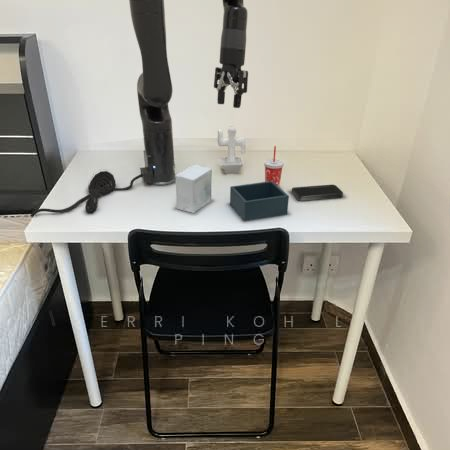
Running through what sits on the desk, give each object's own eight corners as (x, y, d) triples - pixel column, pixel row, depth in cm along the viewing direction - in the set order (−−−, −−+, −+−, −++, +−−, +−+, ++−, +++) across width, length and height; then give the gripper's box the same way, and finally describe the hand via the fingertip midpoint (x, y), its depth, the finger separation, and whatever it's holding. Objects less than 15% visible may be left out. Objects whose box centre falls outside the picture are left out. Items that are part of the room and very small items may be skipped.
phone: (344, 194, 143) (298, 197, 141) (343, 197, 144) (298, 200, 141) (334, 184, 149) (290, 187, 147) (334, 187, 150) (290, 190, 148)
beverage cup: (260, 186, 151) (263, 143, 142) (279, 185, 151) (282, 142, 143) (264, 193, 146) (267, 150, 137) (283, 193, 146) (287, 149, 138)
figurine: (245, 174, 158) (247, 130, 149) (218, 175, 157) (218, 131, 149) (243, 167, 164) (244, 124, 155) (216, 167, 163) (216, 124, 154)
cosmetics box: (194, 214, 134) (193, 179, 127) (176, 209, 136) (174, 175, 130) (212, 200, 141) (212, 167, 135) (194, 196, 144) (193, 163, 137)
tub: (244, 221, 130) (244, 202, 127) (229, 204, 139) (230, 186, 136) (287, 214, 134) (289, 195, 131) (270, 198, 143) (272, 180, 139)
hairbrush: (73, 204, 131) (91, 168, 151) (76, 216, 134) (93, 178, 153) (102, 205, 132) (117, 168, 151) (104, 216, 134) (118, 179, 153)
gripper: (209, 45, 139) (206, 103, 147) (237, 47, 129) (232, 108, 137) (229, 47, 143) (225, 103, 151) (257, 49, 133) (251, 109, 141)
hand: (228, 105), depth 144 cm, fingers open, 8 cm apart
